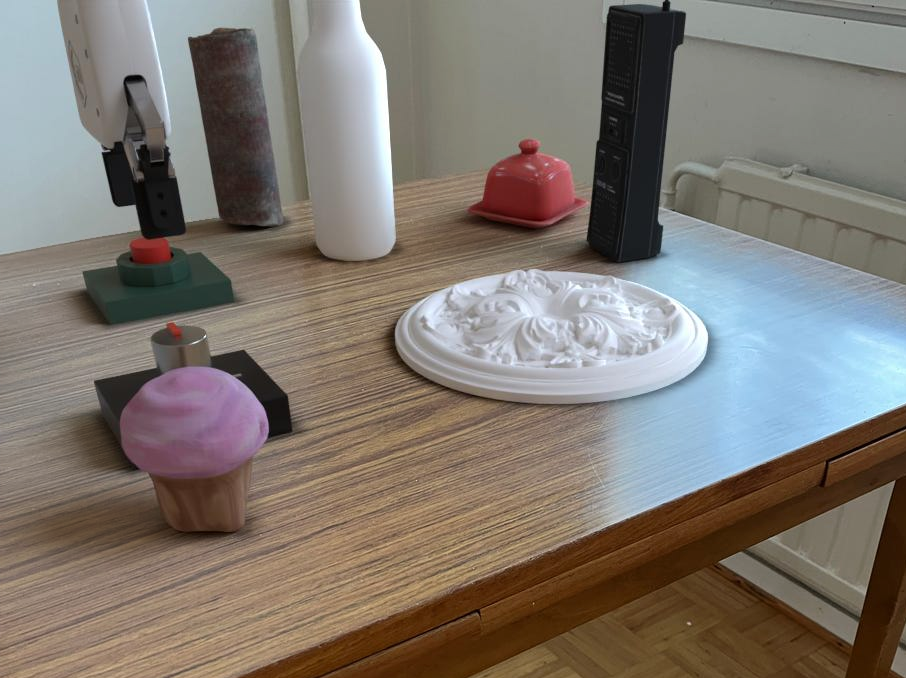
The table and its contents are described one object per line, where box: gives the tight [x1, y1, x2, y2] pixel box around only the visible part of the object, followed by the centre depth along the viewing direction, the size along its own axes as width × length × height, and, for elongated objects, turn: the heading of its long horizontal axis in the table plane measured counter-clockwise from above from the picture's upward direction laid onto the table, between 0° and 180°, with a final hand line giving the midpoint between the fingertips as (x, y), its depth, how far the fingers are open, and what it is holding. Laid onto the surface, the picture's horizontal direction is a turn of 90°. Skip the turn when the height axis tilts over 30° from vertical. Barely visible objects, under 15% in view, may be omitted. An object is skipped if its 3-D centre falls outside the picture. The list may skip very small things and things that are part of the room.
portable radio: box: [585, 0, 687, 263], centre depth 100 cm, size 8×6×25 cm
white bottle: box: [297, 0, 397, 262], centre depth 99 cm, size 9×9×30 cm
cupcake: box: [120, 367, 269, 533], centre depth 62 cm, size 9×9×10 cm
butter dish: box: [466, 138, 589, 229], centre depth 115 cm, size 12×12×8 cm
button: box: [129, 237, 171, 264], centre depth 94 cm, size 4×4×2 cm
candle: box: [187, 27, 284, 228], centre depth 110 cm, size 8×7×20 cm
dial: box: [149, 321, 213, 376], centre depth 72 cm, size 4×4×4 cm
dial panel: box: [93, 349, 294, 471], centre depth 75 cm, size 12×10×3 cm
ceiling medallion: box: [394, 268, 709, 405], centre depth 88 cm, size 28×28×3 cm
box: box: [81, 245, 235, 326], centre depth 96 cm, size 12×10×4 cm
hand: (148, 219), depth 76 cm, fingers open, 9 cm apart
